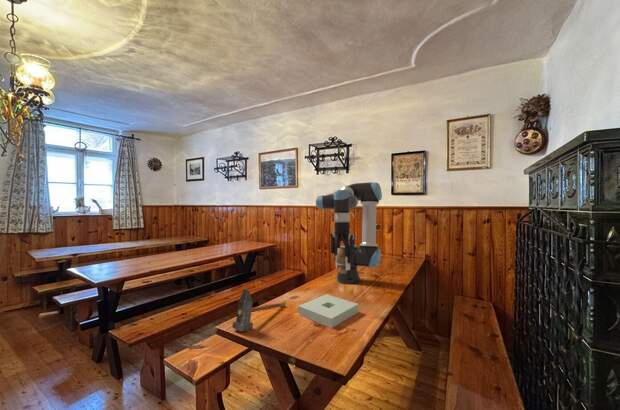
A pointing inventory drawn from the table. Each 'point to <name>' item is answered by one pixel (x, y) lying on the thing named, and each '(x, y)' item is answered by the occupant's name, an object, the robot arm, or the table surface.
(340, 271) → the peg
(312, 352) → the table surface
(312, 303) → the board
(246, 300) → the hammer
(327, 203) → the robot arm
